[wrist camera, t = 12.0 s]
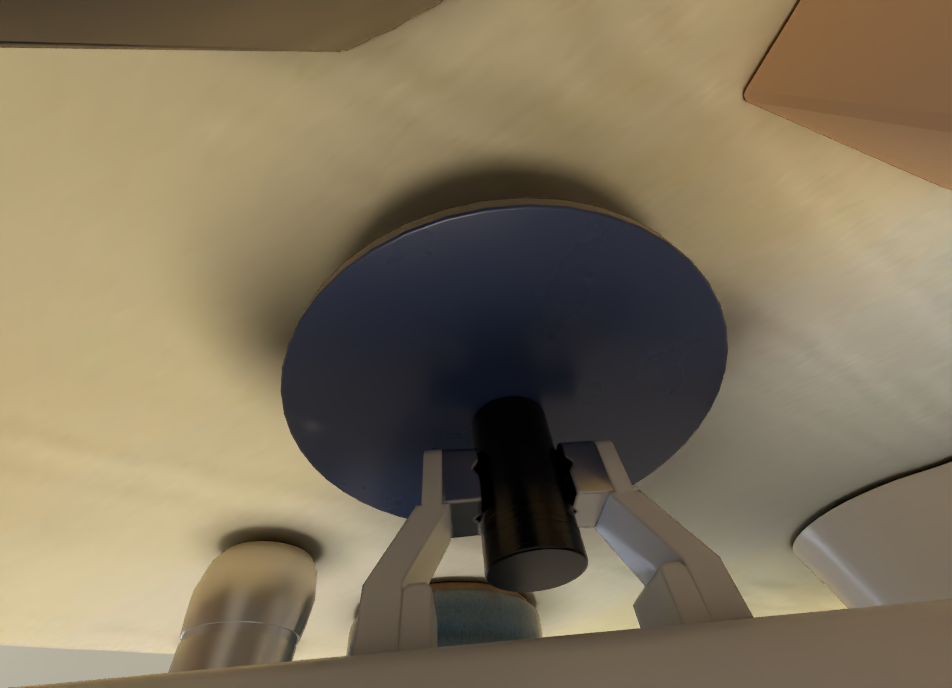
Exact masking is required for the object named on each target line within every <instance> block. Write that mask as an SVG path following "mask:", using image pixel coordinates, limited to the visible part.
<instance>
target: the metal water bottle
mask: <svg viewBox="0 0 952 688" xmlns="http://www.w3.org/2000/svg"><path fill="white" fill-rule="evenodd" d="M316 580H317V570H316V568H315V565H314V562H313V559H312V557H311V556H310V555H309V553H307V552H306V551H304V550H303V549H300V548H298V547H296V546H293V545H290V544H285V543H280V542H272V541H253V542H246V543H241V544H237V545H235V546H232V547H230V548H229V549H227V550H226V551H224V552H223V553H222V554H221V555H220V556H218V557H217V558H216V559H215V560H213V561H212V563H211V564H210V565H209V567H208V568H207V570H206V572H205V573H204V575H203V576H202V578H201V579H200V581H199V583H198V584H197V586H196V587H195V589H194V591H193V594H192V597H191V600H190V603H189V606H188V609H187V612H186V615H185V619H184V623H183V627H182V631H181V635H180V639H181V643H180V644H179V645H178V647H177V650H176V653H175V656H174V658H173V661H172V664H171V666H170V669H169V672H168V673H172V672H182V671H193V670H203V669H214V668H225V667H235V666H246V665H256V664H267V663H278V662H288V661H292V659H293V656H294V653H295V649H296V647H295V646H296V644H298V642H299V641H300V639H301V636H302V634H303V631H304V629H305V627H306V624H307V621H308V618H309V615H310V613H311V610H312V607H313V604H314V601H315V593H316Z"/></svg>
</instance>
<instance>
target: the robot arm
mask: <svg viewBox="0 0 952 688" xmlns="http://www.w3.org/2000/svg"><path fill="white" fill-rule="evenodd" d="M556 453H557V456H558V460H559V463H560V467H561V470H562V473H563V477H564V480H565V483H566V487H567V490H568V494H569V497H570V500H571V504H572V507H573V510H574V514H575V517H576V520H577V524H578V527H579V528H588V527H596V528H595V529H596V530H597V531H598V533H599V534H600V535H601V536H602V537H603V538H604V539H605V541H606V542H607V543H608V544H609V545H610V546H611V547H612V549H613V550H614V551H615V552H616V553H617V554H618V555H619V557H620V558H621V559H622V560H623V561H624V562H625V563H626V565H627V566H628V567H629V568H630V569H631V570H632V571H633V573H634V574H635V575H636V576H637V577H638V578H639V579H640V581H641V582H642V583H643V584H644V585H645V588H644V589H643V591H642V592H641V594H640V595H639V596H638V598H637V599H636V601H635V603H634V604H633V607H634V610H635V613H636V616H637V618H638V621H639V624H640V627H641V628H638V629H628V630H617V631H607V632H596V633H585V634H575V635H564V636H554V637H543V638H532V639H522V640H511V641H501V642H490V643H479V644H469V645H458V646H448V647H438V641H437V618H436V611H435V605H434V598H433V592H432V587H431V586H430V585H429V583H430V581H431V579H432V577H433V575H434V573H435V571H436V569H437V567H438V565H439V563H440V561H441V559H442V557H443V555H444V553H445V551H446V549H447V547H448V545H449V543H450V541H451V538H455V537H465V536H474V535H480V534H481V524H480V515H481V508H482V499H481V487H480V476H479V475H478V455H477V448H470V449H445V450H443V451H442V450H425V451H424V456H423V480H422V505H418V506H416V507H415V508H414V510H413V511H412V513H411V514H410V516H409V517H408V519H407V520H406V522H405V523H404V525H403V526H402V528H401V529H400V531H399V532H398V534H397V535H396V536H395V538H394V539H393V541H392V542H391V544H390V545H389V547H388V548H387V550H386V551H385V553H384V554H383V556H382V557H381V559H380V560H379V562H378V563H377V565H376V566H375V568H374V569H373V571H372V572H371V574H370V575H369V577H368V578H367V580H366V581H365V583H364V584H363V586H362V593H361V600H360V606H359V613H358V620H357V626H356V633H355V640H354V646H353V653H352V656H341V657H331V658H320V659H310V660H299V661H288V662H278V663H267V664H256V665H246V666H235V667H225V668H214V669H203V670H193V671H182V672H172V673H161V674H150V675H141V676H129V677H119V678H108V679H98V680H88V681H77V682H67V683H57V684H45V685H34V686H21V687H10V688H952V461H951V462H949V463H946V464H944V465H941V466H938V467H935V468H932V469H929V470H926V471H922V472H919V473H916V474H913V475H910V476H907V477H904V478H901V479H898V480H895V481H892V482H890V483H887V484H884V485H882V486H879V487H877V488H874V489H872V490H870V491H867V492H865V493H863V494H861V495H859V496H856V497H854V498H852V499H850V500H848V501H846V502H844V503H843V504H841V505H839V506H837V507H835V508H834V509H832V510H830V511H829V512H827V513H825V514H824V515H822V516H821V517H819V518H818V519H816V520H815V521H814V522H812V523H811V524H810V525H809V526H807V527H806V528H805V529H804V530H803V531H802V532H801V533H800V534H799V536H798V537H797V538H796V540H795V542H794V544H793V553H794V555H795V556H796V557H797V558H798V559H800V560H801V561H802V562H803V563H804V564H805V565H806V566H807V567H808V568H809V569H810V570H811V571H812V572H813V573H814V574H815V575H816V576H817V577H818V579H819V580H820V581H821V582H822V583H823V584H825V585H826V586H827V587H828V588H829V589H830V590H831V591H832V592H833V593H834V594H835V595H836V596H837V597H838V598H839V599H840V601H841V602H842V603H843V604H844V605H845V606H846V607H847V608H848V609H840V610H829V611H819V612H808V613H797V614H787V615H776V616H766V617H755V618H754V617H753V616H752V614H751V612H750V610H749V608H748V607H747V605H746V603H745V601H744V599H743V598H742V596H741V594H740V592H739V591H738V589H737V587H736V585H735V583H734V582H733V580H732V578H731V576H730V574H729V573H728V571H727V569H726V567H725V565H724V564H723V562H722V560H721V558H720V557H719V556H718V555H717V554H716V553H714V552H713V551H712V550H711V549H710V548H708V547H707V546H706V545H705V544H704V543H702V542H701V541H700V540H699V539H698V538H696V537H695V536H694V535H693V534H692V533H690V532H689V531H688V530H687V529H686V528H684V527H683V526H682V525H681V524H679V523H678V522H677V521H676V520H675V519H673V518H672V517H671V516H670V515H669V514H667V513H666V512H665V511H664V510H663V509H661V508H660V507H659V506H658V505H657V504H655V503H654V502H653V501H652V500H651V499H649V498H648V497H647V496H646V495H645V494H643V493H642V492H641V491H640V490H638V491H634V488H633V486H632V484H631V482H630V480H629V477H628V475H627V473H626V471H625V469H624V466H623V464H622V462H621V460H620V458H619V456H618V453H617V451H616V449H615V447H614V445H613V443H612V442H611V441H610V440H597V441H591V440H589V441H576V442H563V443H558V445H557V448H556Z"/></svg>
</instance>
